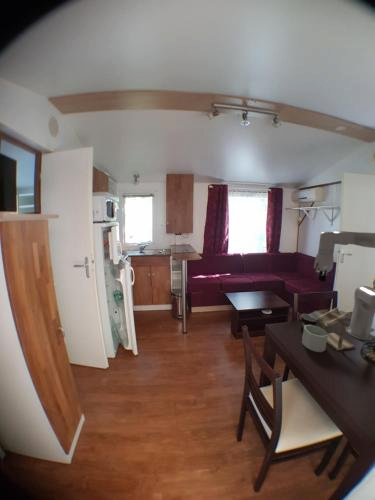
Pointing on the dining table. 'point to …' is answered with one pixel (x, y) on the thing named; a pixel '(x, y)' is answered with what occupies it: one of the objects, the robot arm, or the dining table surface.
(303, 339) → the cup
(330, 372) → the dining table surface
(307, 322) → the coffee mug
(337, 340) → the lever stand
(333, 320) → the tipping lever
